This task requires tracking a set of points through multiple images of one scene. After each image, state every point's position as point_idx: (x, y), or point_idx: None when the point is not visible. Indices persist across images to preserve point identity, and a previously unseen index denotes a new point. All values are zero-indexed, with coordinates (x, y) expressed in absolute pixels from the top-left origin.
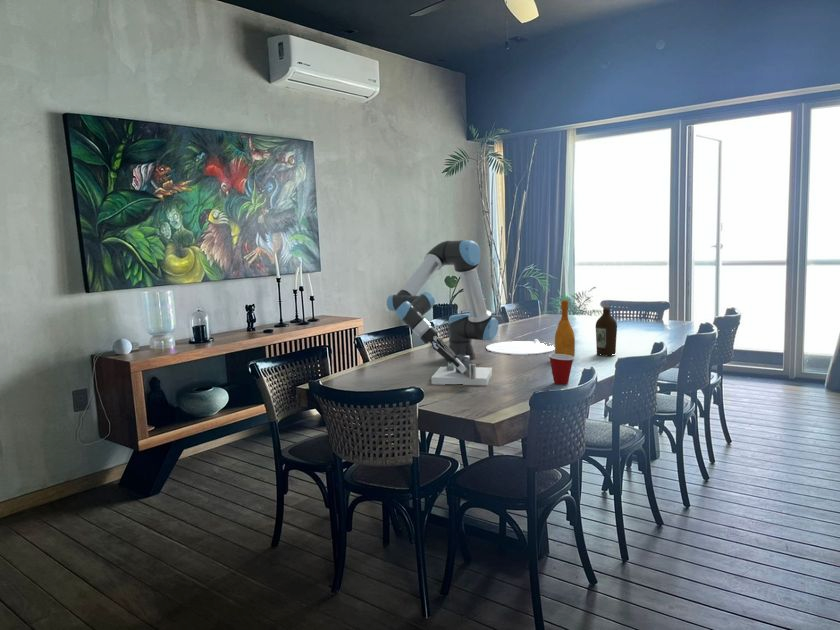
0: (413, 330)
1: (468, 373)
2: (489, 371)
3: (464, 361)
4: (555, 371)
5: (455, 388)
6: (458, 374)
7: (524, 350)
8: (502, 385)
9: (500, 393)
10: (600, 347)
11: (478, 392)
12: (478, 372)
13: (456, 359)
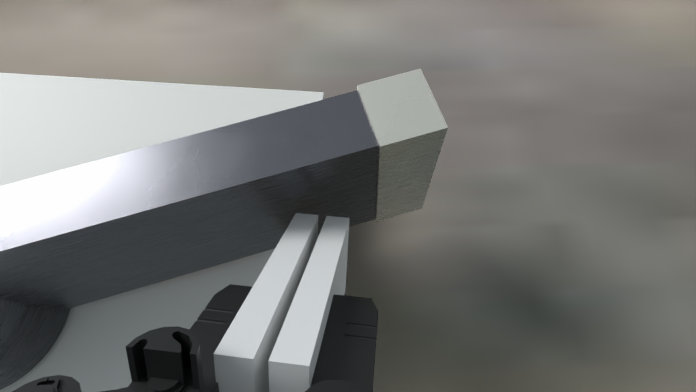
0: None
1: (323, 220)
2: (66, 81)
3: (83, 238)
4: None
5: (434, 375)
6: (113, 355)
7: None
8: (329, 38)
9: (547, 44)
10: None
11: (548, 175)
12: (76, 161)
13: (314, 352)
